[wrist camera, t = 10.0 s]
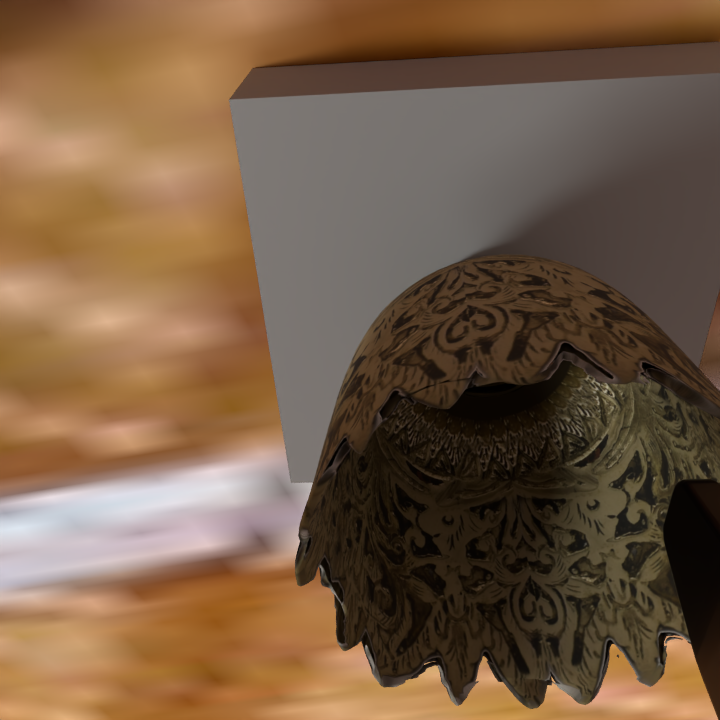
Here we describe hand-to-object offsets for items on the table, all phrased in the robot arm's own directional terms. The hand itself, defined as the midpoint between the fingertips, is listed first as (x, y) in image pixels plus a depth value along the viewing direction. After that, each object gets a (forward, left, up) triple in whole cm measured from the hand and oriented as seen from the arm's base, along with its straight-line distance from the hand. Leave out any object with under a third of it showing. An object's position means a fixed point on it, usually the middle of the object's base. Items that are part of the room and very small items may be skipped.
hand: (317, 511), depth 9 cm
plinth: (+3, -2, -12) cm, 12 cm away
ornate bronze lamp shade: (+3, -2, -9) cm, 10 cm away
